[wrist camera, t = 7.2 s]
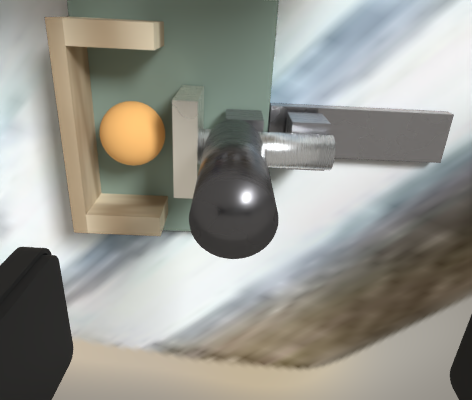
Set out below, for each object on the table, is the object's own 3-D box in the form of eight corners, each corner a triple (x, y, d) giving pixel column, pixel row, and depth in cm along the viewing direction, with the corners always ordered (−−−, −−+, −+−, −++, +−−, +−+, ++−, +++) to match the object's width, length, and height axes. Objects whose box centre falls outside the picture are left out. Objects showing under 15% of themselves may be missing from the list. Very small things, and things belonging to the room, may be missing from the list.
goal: (163, 21, 22) (153, 23, 19) (168, 212, 26) (160, 236, 24) (68, 16, 21) (44, 17, 19) (90, 209, 26) (74, 232, 23)
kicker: (325, 92, 23) (397, 157, 13) (313, 174, 25) (367, 287, 15) (182, 85, 23) (140, 145, 12) (183, 169, 25) (147, 278, 15)
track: (447, 111, 25) (453, 114, 24) (434, 158, 26) (440, 162, 25) (269, 102, 24) (271, 105, 24) (266, 150, 26) (266, 154, 25)
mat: (276, 1, 22) (278, 0, 21) (258, 226, 28) (258, 234, 27) (72, -11, 22) (65, -12, 21) (97, 220, 28) (92, 227, 27)
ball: (128, 112, 19) (82, 101, 21) (132, 180, 21) (89, 164, 23) (177, 102, 22) (133, 92, 24) (178, 163, 23) (136, 149, 25)
